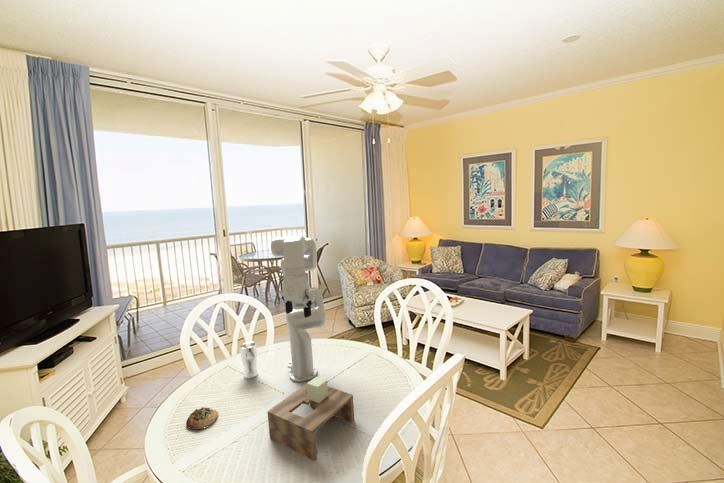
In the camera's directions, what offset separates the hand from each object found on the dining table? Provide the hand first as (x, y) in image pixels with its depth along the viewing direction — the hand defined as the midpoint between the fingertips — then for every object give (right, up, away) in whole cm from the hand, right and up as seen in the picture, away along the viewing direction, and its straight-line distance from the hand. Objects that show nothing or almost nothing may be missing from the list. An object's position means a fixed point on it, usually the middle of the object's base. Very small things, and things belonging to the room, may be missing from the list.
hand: (298, 314), depth 133 cm
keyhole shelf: (+8, -38, -12) cm, 40 cm away
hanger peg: (+9, -34, -9) cm, 37 cm away
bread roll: (-35, -40, -4) cm, 53 cm away
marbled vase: (-27, -35, +28) cm, 52 cm away
